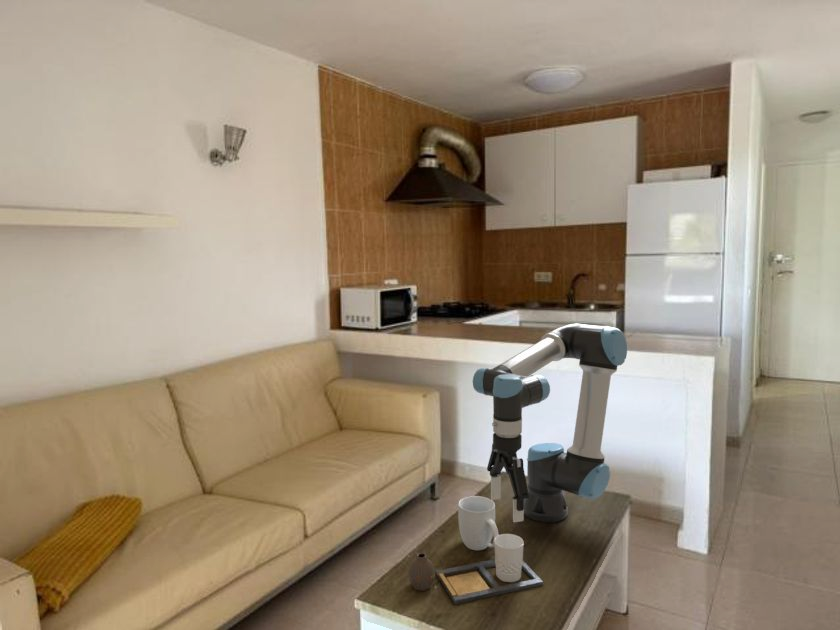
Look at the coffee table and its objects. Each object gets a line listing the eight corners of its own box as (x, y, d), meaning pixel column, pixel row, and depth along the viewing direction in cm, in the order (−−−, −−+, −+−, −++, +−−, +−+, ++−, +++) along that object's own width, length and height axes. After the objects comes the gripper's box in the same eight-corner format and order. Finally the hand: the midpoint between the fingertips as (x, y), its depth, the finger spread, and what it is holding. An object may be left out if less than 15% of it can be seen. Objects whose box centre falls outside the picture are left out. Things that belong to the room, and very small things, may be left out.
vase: (412, 596, 147) (412, 564, 146) (405, 581, 153) (405, 550, 152) (438, 591, 149) (438, 559, 148) (430, 577, 155) (430, 546, 154)
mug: (511, 553, 167) (511, 510, 165) (482, 565, 161) (482, 521, 159) (478, 532, 179) (479, 492, 178) (450, 542, 173) (450, 501, 172)
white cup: (488, 575, 156) (488, 541, 155) (505, 564, 161) (505, 530, 160) (511, 587, 150) (512, 551, 149) (528, 575, 156) (529, 540, 154)
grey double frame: (517, 557, 164) (517, 554, 164) (542, 585, 151) (542, 580, 151) (436, 574, 157) (436, 570, 156) (455, 604, 143) (455, 599, 143)
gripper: (475, 421, 162) (475, 492, 164) (516, 450, 138) (515, 533, 141) (499, 418, 164) (499, 489, 167) (543, 447, 140) (542, 529, 143)
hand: (506, 509), depth 154 cm, fingers open, 13 cm apart
